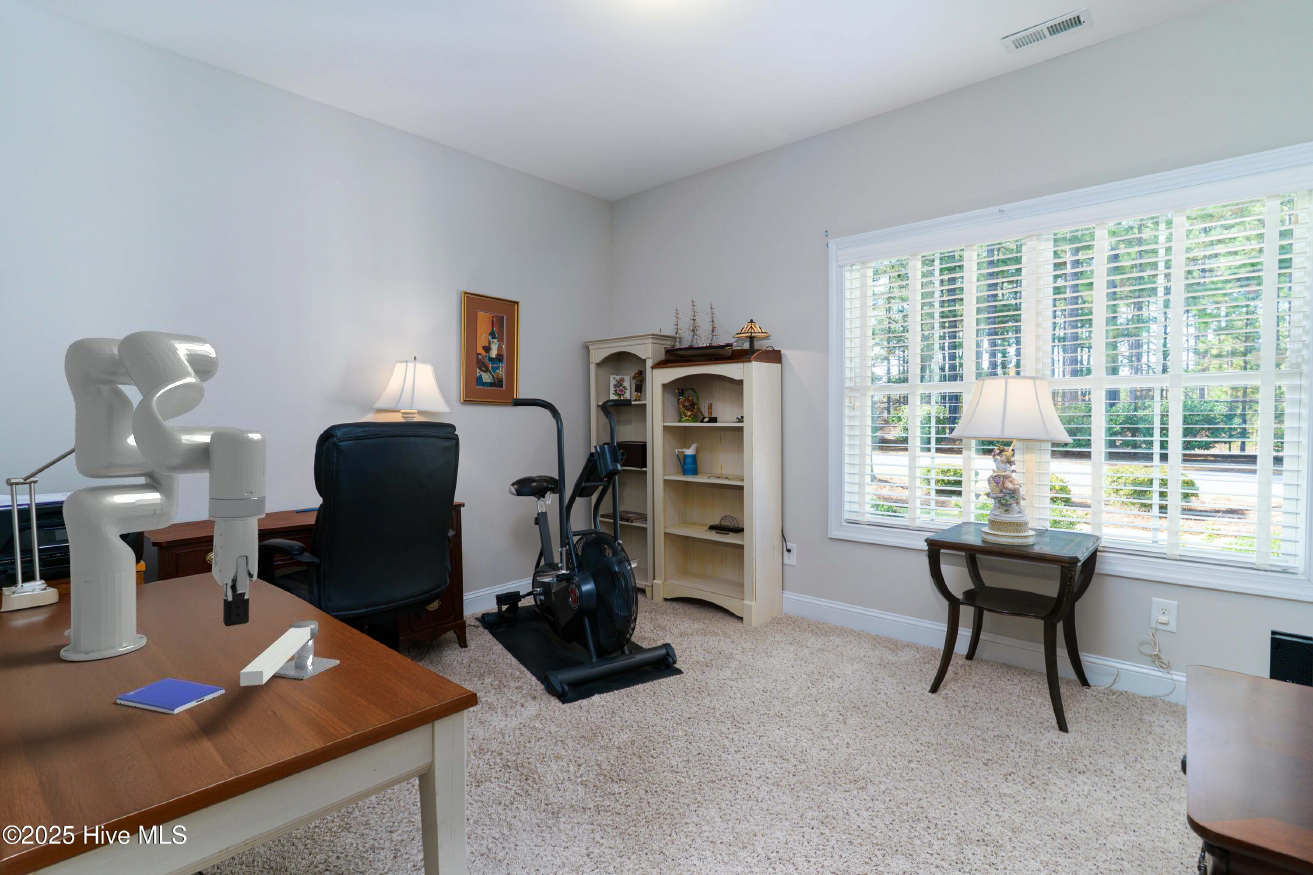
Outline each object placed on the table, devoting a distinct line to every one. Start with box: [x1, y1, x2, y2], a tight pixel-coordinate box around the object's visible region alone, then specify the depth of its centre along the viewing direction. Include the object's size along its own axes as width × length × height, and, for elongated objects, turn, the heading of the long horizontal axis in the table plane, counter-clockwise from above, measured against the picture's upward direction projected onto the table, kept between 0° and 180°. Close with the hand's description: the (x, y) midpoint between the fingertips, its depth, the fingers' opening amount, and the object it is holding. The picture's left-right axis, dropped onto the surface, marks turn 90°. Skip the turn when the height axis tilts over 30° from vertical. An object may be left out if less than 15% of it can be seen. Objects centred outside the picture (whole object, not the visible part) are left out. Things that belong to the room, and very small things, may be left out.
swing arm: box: [239, 620, 319, 687], centre depth 105 cm, size 25×4×2 cm, turn 12°
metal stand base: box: [272, 636, 340, 681], centre depth 115 cm, size 8×8×6 cm
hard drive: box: [116, 677, 226, 715], centre depth 103 cm, size 2×8×12 cm
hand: (236, 623), depth 102 cm, fingers closed
